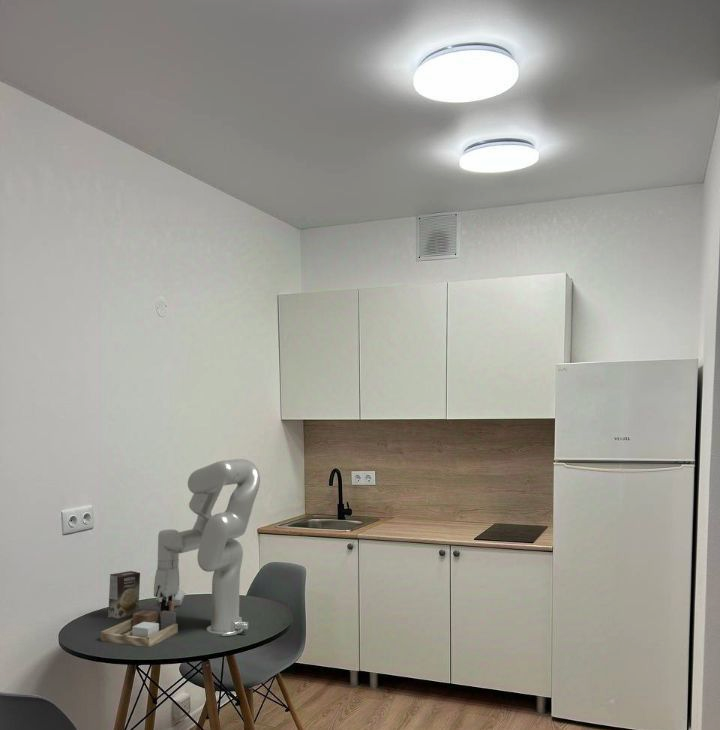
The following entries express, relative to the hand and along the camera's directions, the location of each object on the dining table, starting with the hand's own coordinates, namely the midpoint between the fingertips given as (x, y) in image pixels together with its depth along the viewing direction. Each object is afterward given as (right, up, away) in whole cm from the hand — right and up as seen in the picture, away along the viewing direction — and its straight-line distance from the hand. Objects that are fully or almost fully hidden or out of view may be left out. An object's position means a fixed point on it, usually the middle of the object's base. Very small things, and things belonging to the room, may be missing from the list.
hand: (166, 614), depth 255 cm
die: (-3, -4, +20) cm, 21 cm away
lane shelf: (-2, -1, -19) cm, 19 cm away
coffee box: (-17, -3, +4) cm, 18 cm away
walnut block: (-2, -1, -7) cm, 8 cm away
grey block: (+2, +1, -21) cm, 21 cm away
